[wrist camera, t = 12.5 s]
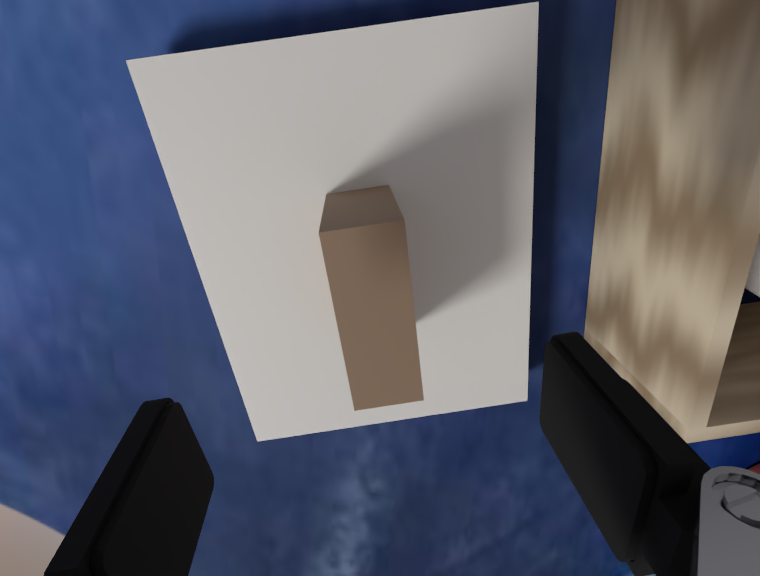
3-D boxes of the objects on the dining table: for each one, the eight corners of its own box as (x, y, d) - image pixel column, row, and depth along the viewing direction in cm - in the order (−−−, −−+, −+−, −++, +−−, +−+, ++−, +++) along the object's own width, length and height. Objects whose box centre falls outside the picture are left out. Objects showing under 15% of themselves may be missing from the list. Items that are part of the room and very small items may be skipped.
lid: (149, 63, 19) (22, 45, 12) (518, 10, 19) (627, -40, 12) (263, 416, 28) (234, 533, 21) (514, 378, 28) (574, 481, 21)
